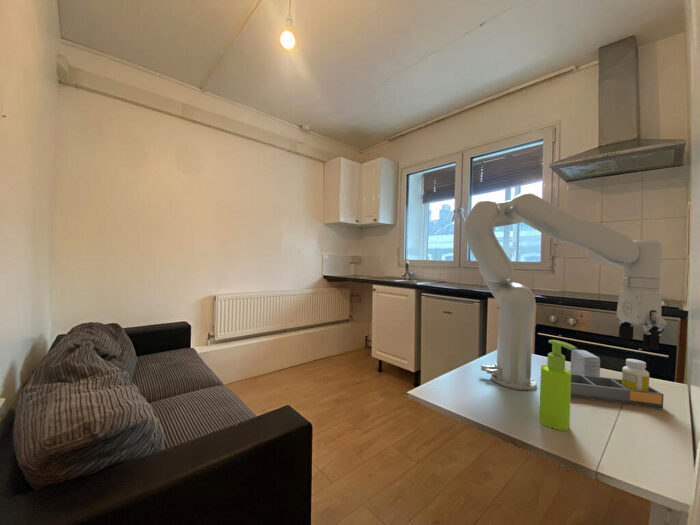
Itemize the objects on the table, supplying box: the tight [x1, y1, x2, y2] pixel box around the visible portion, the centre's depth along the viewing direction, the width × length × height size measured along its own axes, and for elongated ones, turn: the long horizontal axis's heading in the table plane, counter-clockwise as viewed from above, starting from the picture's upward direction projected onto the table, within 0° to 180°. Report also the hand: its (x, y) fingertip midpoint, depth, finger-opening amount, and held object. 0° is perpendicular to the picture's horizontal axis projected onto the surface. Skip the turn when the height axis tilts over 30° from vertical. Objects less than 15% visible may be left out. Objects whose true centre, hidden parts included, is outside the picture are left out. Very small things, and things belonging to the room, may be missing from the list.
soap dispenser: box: [538, 339, 578, 432], centre depth 66 cm, size 6×7×20 cm
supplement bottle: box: [621, 358, 650, 392], centre depth 80 cm, size 5×5×10 cm
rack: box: [571, 374, 664, 410], centre depth 81 cm, size 23×8×4 cm, turn 75°
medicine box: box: [570, 349, 601, 377], centre depth 93 cm, size 8×4×9 cm, turn 168°
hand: (637, 343), depth 79 cm, fingers open, 9 cm apart
